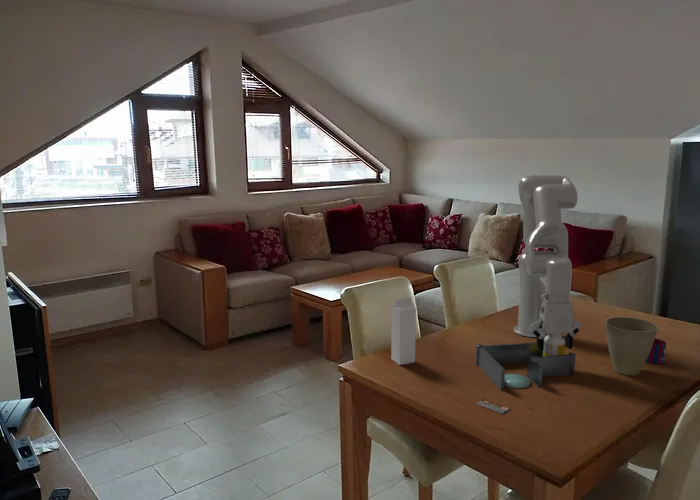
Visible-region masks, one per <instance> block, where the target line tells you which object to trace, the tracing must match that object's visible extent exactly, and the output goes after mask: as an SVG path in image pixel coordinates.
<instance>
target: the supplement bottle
mask: <svg viewBox="0 0 700 500" xmlns="http://www.w3.org/2000/svg"><path fill="white" fill-rule="evenodd" d="M563 334H564V333H562V334H547V335H546V336H544V337H543V339H544V350H543V356H552V355H566V353H565V352H566V346H565V338H564V337H563Z"/></svg>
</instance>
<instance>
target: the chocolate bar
mask: <svg viewBox="0 0 700 500" xmlns="http://www.w3.org/2000/svg"><path fill="white" fill-rule="evenodd" d="M474 405H476V406H477V407H478V406H479V407H482V408H483V409H486V410H489V411H492V412H494V413H496V414H499V415H501V416H504V415H506V414H508V413H510V412H512V411H514V409H511V408H509V407H506V406H502V405H501V404H497V403H495V402H492V401H490V400H487V399H484V398H481V399H480V400H479V401H477V402H475V403H474Z"/></svg>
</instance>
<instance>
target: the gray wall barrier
mask: <svg viewBox="0 0 700 500" xmlns="http://www.w3.org/2000/svg"><path fill="white" fill-rule="evenodd" d="M536 343H537V341H534V342H517V343H516V342H515V343H502V344H498V343H497V344H484V345H483V344H481V343H479V344H476V350H475V352H476V355H475V365H476V366H477V367H478V368H479V369H480V370H482V372H484V373H485V374H486V376H487V377H488V378H489V379H490V380H491V381H492V383H494V384H495V386H496V387H497V388H498V389H499V390H500V391H504V390H505V386H504V376H505V371H506V370H505V368H504V367H503V366H502V365H504V364H521V363H527V368H526V369H527V371H526V377H527V378H529V379H530V382H532V383H533V384H535V386H536V387H538V388H541V387H542V386H543V378H544V377H545V378H546V377H559V376H575V369H576V355H577V354H576V353H574V352H569V353H568V354H565V355H552V356H543V351H541V350H539V349H538V348H537V346H536Z"/></svg>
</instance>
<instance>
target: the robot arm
mask: <svg viewBox="0 0 700 500" xmlns="http://www.w3.org/2000/svg"><path fill="white" fill-rule="evenodd" d="M518 196H519V200H520V204H521V205H522V206H521V207H522V210H523V215H522V216H523V217H522V218H523V224H522V227H523V228H522V232H523V233H522V234H523V236H522V238H523V243H524V245H525V246H524V252H523V253H522V254H520V256H519V258H518V269H519V296H518V297H519V299H518V317H517V321H518V322H517V325H515V326H513V332H514V333H515V334H517V335H519V336H524V337H526V338H527V337H528V338H536V342H537V343H536V346H537V348H538V349H539V350H541V351H543V350H544V338H545V337H546V336H548V334H562V333H563V334H565V338H564V339H565V348H567V349H568V350H572V349H573V346H574V344H573V343H574V338H575V337H576V335H577V334H578V333H579V330H580V329H581V327H582V324H583V323H582V322H580V321H578V320H576V319H575V314H574V312H575V311H574V306H573V302H572V301H571V288H572V275H573V274H572V272H573V265H572V263H573V262H572V260H571V259H570V258H569V233H568V232H569V231H568V229H567V227H566V225H565V224H564V223H563V220H562V211H561V210H562V209H563V210H567V209H568V210H570V209H574V208H576V206H577V204H578V200H579V199H578V198H579V197H578V192H577V188H576V186H575V185H574V183H573V182H572V180H571V179H570V178H569V177H568V176H566V175H560V174H558V175H557V174H556V175H555V174H554V175H553V174H552V175H550V174H549V175H545V174H544V175H543V174H541V175H539V174H537V175H536V174H535V175H534V174H533V175H526V176H523V177H521V178H520V180H519V181H518ZM535 248H536V249H538V248H542V249H553V251H543V250H535ZM540 278H545V284H544V282H542V280H541V279H540ZM563 334H562V335H563Z"/></svg>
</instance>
